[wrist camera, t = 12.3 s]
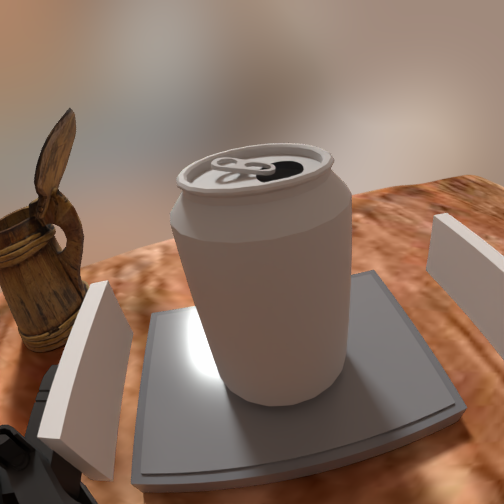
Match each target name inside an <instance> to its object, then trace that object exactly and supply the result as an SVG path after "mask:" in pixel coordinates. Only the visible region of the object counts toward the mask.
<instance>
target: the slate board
mask: <svg viewBox="0 0 504 504" xmlns="http://www.w3.org/2000/svg"><path fill="white" fill-rule="evenodd" d="M466 409H467V406H466V405H465V403H464V401H463V400H462V398H461V396H460V395H459V393H458V391H457V390H456V388H455V387H454V385H453V383H452V382H451V380H450V379H449V377H448V375H447V374H446V372H445V371H444V369H443V367H442V366H441V364H440V363H439V361H438V360H437V358H436V357H435V355H434V354H433V352H432V351H431V349H430V348H429V346H428V345H427V343H426V342H425V340H424V339H423V337H422V336H421V334H420V333H419V331H418V330H417V328H416V327H415V326H414V324H413V323H412V321H411V320H410V318H409V317H408V316H407V314H406V313H405V311H404V310H403V308H402V307H401V306H400V304H399V303H398V302H397V300H396V299H395V297H394V296H393V295H392V293H391V292H390V291H389V289H388V288H387V286H386V285H385V284H384V282H383V281H382V280H381V278H380V277H379V276H378V274H377V273H376V272H375V271H374V270H371V271H367V272H362V273H358V274H353V275H351V290H350V310H349V325H348V339H347V351H346V357H345V361H344V365H343V370H342V371H341V373H340V374H339V375H338V377H337V378H336V380H335V381H334V382H333V384H332V385H331V386H330V387H328V388H327V389H326V390H324V391H323V392H321V393H320V394H319V395H317V396H316V397H314V398H312V399H309V400H306V401H303V402H300V403H297V404H294V405H286V406H265V405H261V404H257V403H253V402H249V401H246V400H244V399H243V398H241V397H240V396H238V395H236V394H235V393H233V392H232V391H230V390H229V388H228V387H227V386H226V384H225V383H224V382H223V380H222V379H221V378H220V375H219V373H218V370H217V367H216V365H215V362H214V359H213V356H212V353H211V351H210V348H209V345H208V342H207V339H206V336H205V333H204V330H203V328H202V325H201V322H200V319H199V316H198V313H197V310H196V307H195V306H192V307H187V308H181V309H175V310H169V311H163V312H157V313H152V315H151V320H150V326H149V332H148V338H147V344H146V350H145V356H144V363H143V370H142V377H141V384H140V392H139V400H138V408H137V417H136V426H135V436H134V447H133V459H132V473H131V484H132V485H133V486H134V487H136V488H137V489H139V490H140V491H142V492H154V493H167V492H197V491H211V490H223V489H232V488H241V487H248V486H255V485H262V484H268V483H274V482H279V481H285V480H290V479H295V478H299V477H304V476H308V475H313V474H317V473H321V472H325V471H328V470H332V469H336V468H339V467H343V466H346V465H350V464H353V463H356V462H359V461H363V460H366V459H369V458H372V457H375V456H377V455H380V454H383V453H386V452H389V451H391V450H394V449H397V448H399V447H402V446H404V445H407V444H409V443H412V442H414V441H416V440H419V439H421V438H423V437H426V436H428V435H430V434H432V433H435V432H437V431H439V430H441V429H443V428H445V427H447V426H449V425H451V424H453V423H455V422H457V421H459V419H460V418H461V416H462V415H463V413H464V412H465V411H466Z"/></svg>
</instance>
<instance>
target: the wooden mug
mask: <svg viewBox="0 0 504 504" xmlns="http://www.w3.org/2000/svg"><path fill="white" fill-rule="evenodd" d="M75 134H76V120H75V114H74V112H73V111H72V110H71V108H69V109H68V110H67V111H66V113H65V114H64V115H63V117H62V118H61V119H60V120H59V121H58V123H57V124H56V125H55V126H54V128H53V129H52V131H51V132H50V134H49V135H48V137H47V139H46V141H45V143H44V145H43V147H42V150H41V153H40V156H39V159H38V162H37V166H36V171H35V177H34V184H35V189H36V192H37V194H38V196H39V197H38V198H37V199H35V200H34V201H32V202H31V203H30V204H29V206H26V207H24V208H21V209H19V210H16V211H14V212H12V213H10V214H8V215H6V216H4V217H3V218H1V219H0V286H1V288H2V291H3V294H4V296H5V299H6V301H7V303H8V306H9V308H10V310H11V313H12V315H13V317H14V319H15V321H16V324H17V326H18V331H19V334H20V336H21V338H22V340H23V342H24V344H25V345H26V347H27V348H28V349H30V350H31V351H33V352H45V351H51V350H53V349H55V348H58V347H60V346H62V345H64V344H66V343H67V341H68V338H69V335H70V333H71V330H72V328H73V325H74V323H75V320H76V318H77V315H78V313H79V310H80V308H81V305H82V303H83V301H84V298H85V296H86V294H87V292H88V289H89V286H88V284H87V282H85V281H83V280H81V276H80V266H81V260H82V253H83V242H84V234H83V229H82V224H81V221H80V219H79V216H78V214H77V212H76V210H75V208H74V207H73V205H72V204H71V203H70V201H69V200H68V199H67V198H66V197H65V196H64V195H63V194H62V193H61V192H60V191H59V189H58V187H59V184H60V181H61V178H62V176H63V173H64V171H65V168H66V165H67V162H68V159H69V156H70V152H71V149H72V145H73V142H74V139H75ZM52 224H55V225H57V226H59V227H61V229H62V230H63V231H64V233H65V235H66V238H67V243H66V247H65V248H64V250H62V248H61V247H60V245H59V243H58V242H57V240H56V238H55V236H54V235H55V233H56V231H55V227H54V226H53V225H52Z"/></svg>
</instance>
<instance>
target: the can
mask: <svg viewBox="0 0 504 504" xmlns="http://www.w3.org/2000/svg"><path fill="white" fill-rule="evenodd" d="M333 163H334V158H333V157H332V156H331V154H330V153H329V152H328V151H326V150H324V149H322V148H319V147H316V146H311V145H306V144H294V143H277V144H262V145H254V146H247V147H241V148H237V149H232V150H227V151H224V152H220V153H217V154H214V155H210V156H208V157H206V158H203V159H201V160H198V161H196V162H194V163H192V164H191V165H189V166H187V167H186V168H184V169H183V171H182V172H181V173H180V174H179V175H178V176H177V178H176V180H177V187H178V188H180V189H182V190H183V191H182V192H181V194H180V196H179V198H178V200H177V201H176V203H175V205H174V207H173V208H172V210H171V212H170V224H171V228H172V231H173V235H174V239H175V242H176V245H177V249H178V252H179V256H180V259H181V262H182V265H183V269H184V272H185V275H186V278H187V282H188V285H189V288H190V291H191V294H192V297H193V300H194V304H195V307H196V310H197V313H198V316H199V319H200V322H201V325H202V328H203V330H204V333H205V336H206V339H207V342H208V345H209V348H210V351H211V353H212V356H213V359H214V362H215V365H216V367H217V370H218V373H219V375H220V378H221V379H222V380H223V382H224V383H225V384H226V386H227V387H228V388H229V390H230V391H232V392H233V393H235V394H236V395H238V396H240V397H241V398H243V399H244V400H246V401H249V402H253V403H257V404H261V405H265V406H286V405H294V404H297V403H300V402H303V401H306V400H309V399H312V398H314V397H316V396H317V395H319V394H320V393H321V392H323V391H324V390H326V389H327V388H328V387H330V386H331V385H332V384H333V382H334V381H335V380H336V378H337V377H338V375H339V374H340V373H341V371H342V370H343V365H344V361H345V357H346V351H347V339H348V325H349V310H350V290H351V260H352V194H351V192H350V190H349V188H348V187H347V185H346V184H345V183H344V182H343V181H342V180H341V179H340V178H339V177H338V176H337V175H336V174H335V173H334V172H333V171H332V170H331V167H332V165H333Z"/></svg>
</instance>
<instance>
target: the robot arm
mask: <svg viewBox="0 0 504 504" xmlns="http://www.w3.org/2000/svg"><path fill="white" fill-rule="evenodd" d="M426 271H427V272H428V273H429V274H430V275H431V276H432V277H433V278H434V279H435V280H436V282H437V283H438V284H439V285H440V286H441V287H442V288H443V289H444V290H445V291H446V292H447V293H448V294H449V296H450V297H451V298H452V299H453V300H454V301H455V302H456V303H457V304H458V306H459V307H460V308H461V309H462V310H463V311H464V312H465V314H466V315H467V316H468V317H469V318H470V319H471V321H472V322H473V323H474V324H475V325H476V326H477V328H478V329H479V330H480V331H481V332H482V334H483V335H484V336H485V337H486V338H487V340H488V341H489V342H490V343H491V345H492V346H493V347H494V348H495V350H496V351H497V352H498V353H499V355H500V356H501V357H502V359H503V360H504V256H503V255H501V254H500V253H499V252H498V251H497V250H495V249H494V248H493V247H492V246H490V245H489V244H488V243H487V242H485V241H484V240H483V239H481V238H480V237H479V236H478V235H476V234H475V233H474V232H472V231H471V230H470V229H468V228H467V227H466V226H464V225H463V224H462V223H460V222H459V221H457V220H456V219H455V218H453V217H452V216H450V215H449V214H448V213H444V214H439V215H434V217H433V225H432V233H431V241H430V248H429V254H428V260H427V266H426ZM132 338H133V332H132V330H131V328H130V326H129V324H128V322H127V320H126V318H125V316H124V314H123V312H122V310H121V308H120V305H119V303H118V301H117V299H116V297H115V295H114V293H113V290H112V288H111V286H110V284H109V281H108V280H107V281H102V282H97V283H92V284H91V285H90V287H89V289H88V292H87V294H86V296H85V298H84V301H83V303H82V305H81V308H80V310H79V313H78V315H77V318H76V320H75V323H74V325H73V328H72V330H71V333H70V335H69V338H68V341H67V343H66V346H65V349H64V351H63V354H62V357H61V360H60V363H59V365H52V366H51V367H50V368H49V370H48V371H47V372H46V374H45V375H44V377H43V379H42V382H41V385H40V388H39V392H38V394H37V397H36V403H34V406H33V409H32V413H31V416H30V419H29V423H28V426H27V430H26V433H25V437H23V436H22V435H21V434H20V433H19V432H18V431H16V430H15V429H14V428H13V427H11V426H9V425H1V426H0V504H98V503H97V502H96V500H95V499H94V498H93V496H92V495H91V493H90V492H89V490H88V489H87V487H86V486H85V485H84V484H83V483H82V482H81V474H82V473H83V474H84V475H85V476H87V477H88V478H90V479H91V480H98V481H113V475H114V463H115V453H116V443H117V434H118V426H119V418H120V410H121V403H122V396H123V389H124V383H125V377H126V371H127V365H128V359H129V354H130V348H131V343H132Z"/></svg>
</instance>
